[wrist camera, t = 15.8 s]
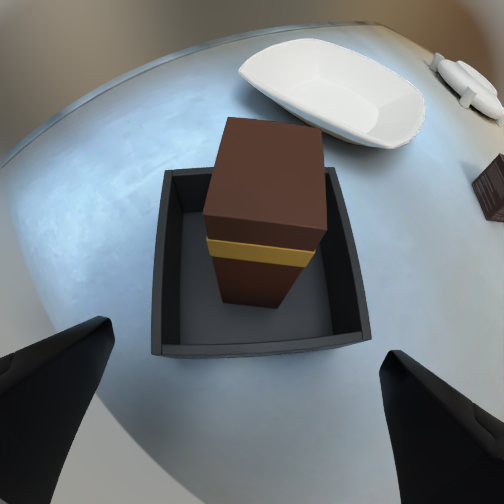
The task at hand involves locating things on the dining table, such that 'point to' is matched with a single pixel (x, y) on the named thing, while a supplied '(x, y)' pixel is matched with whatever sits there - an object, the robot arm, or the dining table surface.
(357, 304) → the open storage bin
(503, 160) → the box
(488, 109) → the round stand with pegs
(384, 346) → the dining table surface
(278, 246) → the chocolate carton
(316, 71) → the bowl
